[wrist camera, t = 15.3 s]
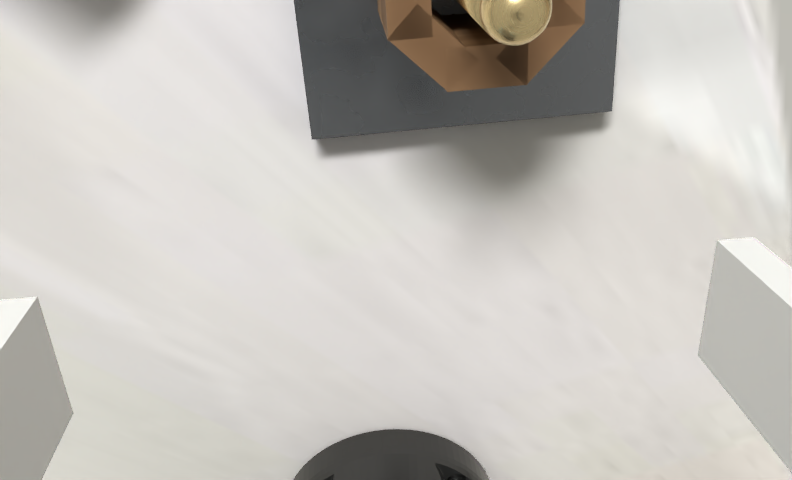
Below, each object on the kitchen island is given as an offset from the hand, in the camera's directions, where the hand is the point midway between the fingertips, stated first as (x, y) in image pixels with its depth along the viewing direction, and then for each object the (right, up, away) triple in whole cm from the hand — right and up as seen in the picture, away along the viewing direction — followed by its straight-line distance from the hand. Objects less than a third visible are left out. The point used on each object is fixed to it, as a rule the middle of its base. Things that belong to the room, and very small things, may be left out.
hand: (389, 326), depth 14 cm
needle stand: (+3, +16, +22) cm, 27 cm away
